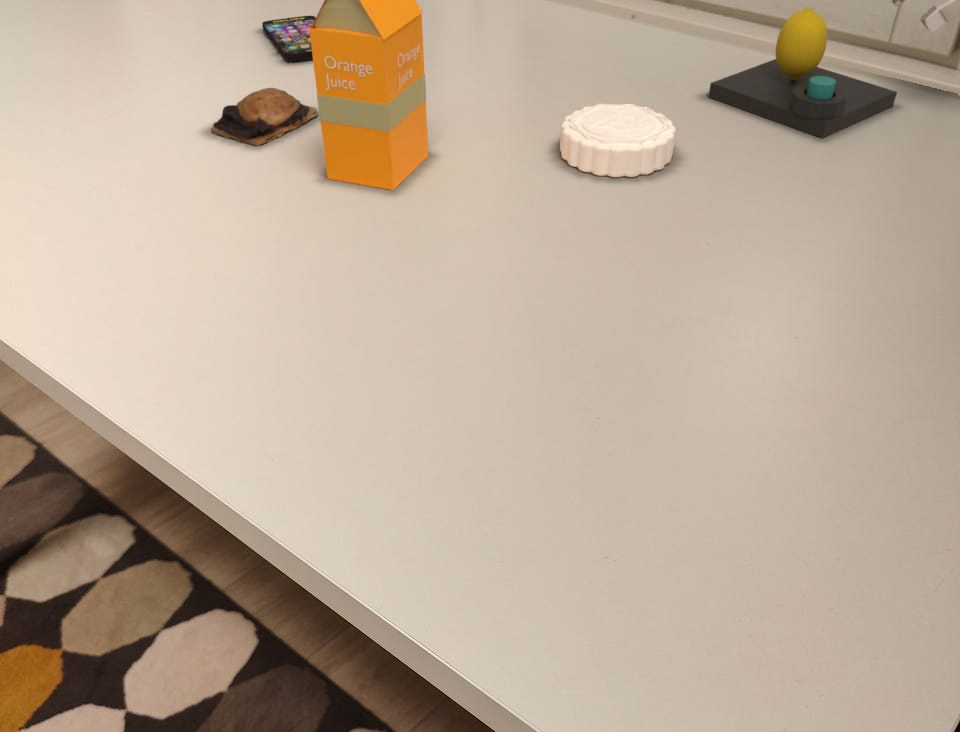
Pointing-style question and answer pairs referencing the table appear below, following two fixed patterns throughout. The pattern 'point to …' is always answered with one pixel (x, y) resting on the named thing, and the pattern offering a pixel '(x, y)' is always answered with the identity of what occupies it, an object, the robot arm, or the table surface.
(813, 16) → the lemon
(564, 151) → the mooncake
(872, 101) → the push button box
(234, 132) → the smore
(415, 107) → the orange juice
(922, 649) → the table surface
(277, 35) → the smartphone
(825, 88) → the button
